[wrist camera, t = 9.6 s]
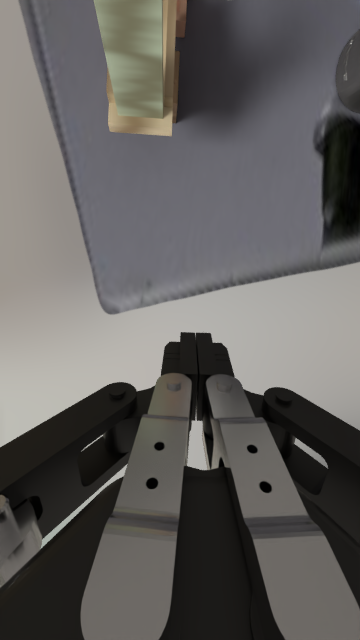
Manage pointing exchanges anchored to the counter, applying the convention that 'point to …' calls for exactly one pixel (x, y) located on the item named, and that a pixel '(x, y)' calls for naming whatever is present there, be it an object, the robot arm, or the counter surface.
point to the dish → (180, 18)
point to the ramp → (139, 63)
